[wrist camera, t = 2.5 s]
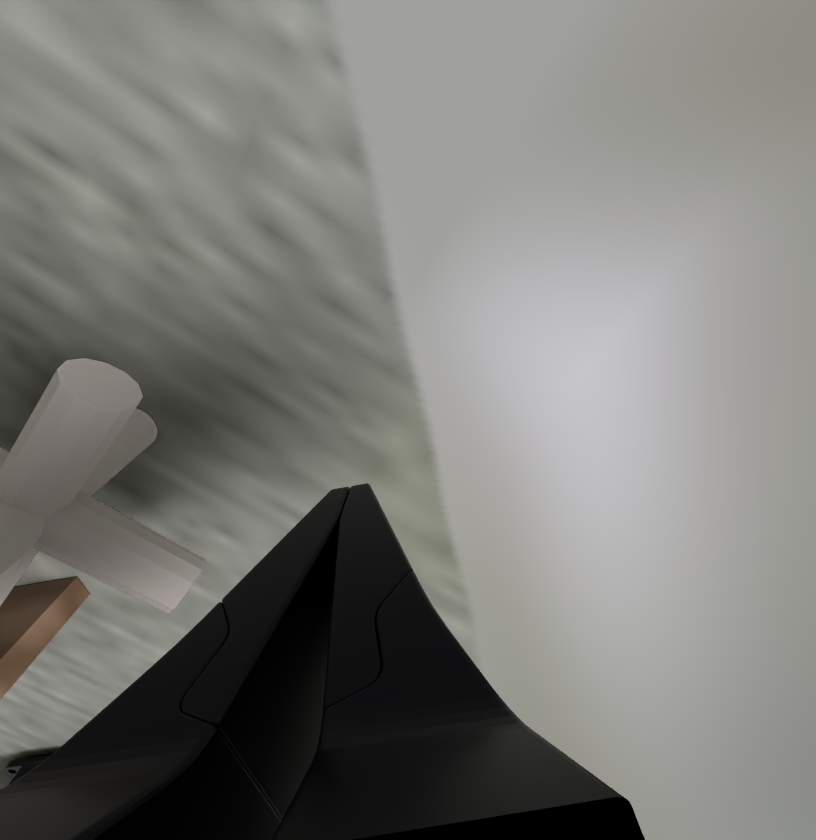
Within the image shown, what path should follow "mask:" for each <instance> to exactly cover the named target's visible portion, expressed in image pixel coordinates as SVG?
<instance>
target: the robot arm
mask: <svg viewBox="0 0 816 840" xmlns="http://www.w3.org/2000/svg"><path fill="white" fill-rule="evenodd" d="M222 602H223V603H222ZM222 602H219V603H218V604H217V605H216V606H215V607H214V608H213V609H212V610H211V611H210V612H209V613H208V614H207V615H206V616H205V617H204V618H203V619H202V620H201V621H200V622H199V623H198V624H197V625H196V626H195V627H194V628H193V629H192V630H191V631H190V632H189V633H188V634H187V635H185V636H184V637H183V638H182V639H181V640H180V641H179V642H178V643H177V644H176V645H175V646H174V647H173V648H172V649H171V650H170V651H168V652H167V653H166V654H165V655H164V656H163V657H162V658H161V659H160V660H159V661H157V662H156V663H155V664H154V665H153V666H152V667H151V668H150V669H149V670H147V671H146V672H145V673H144V674H143V675H142V676H141V677H140V678H138V679H137V680H136V681H135V682H134V683H133V684H132V685H131V686H129V687H128V688H127V689H126V690H125V691H124V692H123V693H121V694H120V695H119V696H118V697H117V698H116V699H115V700H114V701H112V702H111V703H110V704H109V705H108V706H107V707H106V708H105V709H103V710H102V711H101V712H100V713H99V714H98V715H97V716H95V717H94V718H93V719H92V720H91V721H90V722H89V723H88V724H86V725H85V726H84V727H83V728H82V729H81V730H80V731H78V732H77V733H76V734H75V735H74V736H73V737H72V738H71V739H69V740H68V741H67V742H66V743H65V744H64V745H63V746H61V747H60V748H59V749H58V750H57V751H55V752H54V753H53V754H52V755H46V756H39V757H32V758H25V759H17V760H12V761H10V762H9V763H8V764H7V766H6V767H5V769H4V772H5V773H6V774H7V775H9V776H10V777H11V778H12V781H11V782H10V784H9V785H8V786H6V787H4V788H2V789H1V790H0V840H645V838H644V836H643V834H642V832H641V829H640V826H639V824H638V821H637V819H636V816H635V813H634V811H633V808H632V806H631V804H630V802H629V801H628V800H627V799H626V798H624V797H623V796H621V795H620V794H619V793H617V792H616V791H615V790H613V789H612V788H610V787H609V786H608V785H606V784H605V783H604V782H602V781H601V780H600V779H598V778H597V777H596V776H594V775H593V774H591V773H590V772H589V771H587V770H586V769H585V768H583V767H582V766H580V765H579V764H578V763H576V762H575V761H574V760H572V759H571V758H570V757H568V756H567V755H566V754H564V753H563V752H561V751H560V750H559V749H557V748H556V747H555V746H553V745H552V744H551V743H549V742H548V741H547V740H545V739H544V738H543V737H541V736H540V735H538V734H537V733H536V732H534V731H533V730H532V729H530V728H529V727H528V726H527V725H525V724H524V723H523V722H522V721H521V720H520V719H519V718H518V717H517V716H516V715H515V714H514V713H513V712H512V711H511V710H510V709H509V707H508V706H507V705H506V704H505V703H504V701H503V700H502V699H501V698H500V697H499V695H498V694H497V693H496V692H495V690H494V689H493V688H492V687H491V685H490V684H489V683H488V681H487V680H486V679H485V677H484V676H483V675H482V673H481V672H480V671H479V669H478V668H477V667H476V665H475V664H474V662H473V661H472V660H471V658H470V657H469V656H468V654H467V653H466V652H465V650H464V649H463V648H462V646H461V645H460V644H459V642H458V641H457V640H456V638H455V637H454V636H453V634H452V633H451V632H450V630H449V629H448V628H447V626H446V625H445V623H444V622H443V620H442V619H441V617H440V616H439V615H438V613H437V612H436V610H435V609H434V607H433V606H432V604H431V602H430V601H429V599H428V597H427V595H426V593H425V592H424V590H423V588H422V586H421V585H420V583H419V581H418V579H417V577H416V575H415V573H414V572H413V569H412V567H411V565H410V563H409V561H408V559H407V557H406V555H405V553H404V551H403V549H402V547H401V545H400V543H399V541H398V539H397V537H396V536H395V534H394V532H393V530H392V528H391V526H390V524H389V522H388V520H387V518H386V516H385V514H384V512H383V510H382V508H381V506H380V504H379V502H378V500H377V498H376V496H375V494H374V492H373V490H372V488H371V486H370V485H369V484H368V483H366V484H361V485H355V486H352V487H351V488H349V487H343V488H338V489H333V490H331V491H330V492H329V493H328V494H327V495H326V496H325V497H324V498H323V499H322V500H321V501H320V502H319V503H318V504H317V505H316V506H315V507H314V508H313V509H312V510H311V511H310V512H309V513H308V514H307V515H306V516H305V517H304V518H303V519H302V520H301V521H300V522H299V523H298V524H297V525H296V526H295V527H294V528H293V529H292V530H291V531H290V532H289V533H288V534H287V535H286V536H285V537H284V538H283V539H282V540H281V541H280V542H279V543H278V544H277V545H276V546H275V547H274V548H273V549H272V550H271V551H270V552H269V553H268V554H267V555H266V556H265V557H264V558H263V559H262V560H261V561H260V562H259V563H258V564H257V565H256V566H255V567H254V568H253V569H252V570H251V571H250V572H249V573H248V574H247V575H246V576H245V577H244V578H243V579H242V580H241V581H240V582H239V583H238V584H237V585H236V586H235V587H234V588H233V589H232V590H231V591H230V592H229V593H228V594H227V595H226V596H225V597H224V598H223V600H222Z"/></svg>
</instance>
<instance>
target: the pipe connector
mask: <svg viewBox="0 0 816 840" xmlns="http://www.w3.org/2000/svg"><path fill="white" fill-rule="evenodd" d="M142 398H143V395H142V392H141V389H140V387H139V384H138V383H137V382H136V381H134V380H133V379H132V378H131V377H130V376H129V375H128V374H127V373H126V372H124V371H122V370H120V369H118V368H116V367H114V366H112V365H110V364H108V363H105V362H101V361H96V360H91V359H87V358H81V359H73V360H66V361H65V362H64V363H63V364H62V365H61V366H60V367H59V368H58V369H57V370H56V372H55V374H54V375H53V377H52V379H51V381H50V382H49V384H48V386H47V388H46V389H45V391H44V393H43V395H42V396H41V398H40V400H39V402H38V403H37V405H36V407H35V409H34V410H33V412H32V414H31V416H30V417H29V419H28V421H27V423H26V424H25V426H24V428H23V430H22V431H21V433H20V435H19V437H18V438H17V440H16V442H15V444H14V445H13V447H12V449H11V451H10V452H9V451H7V450H5V449H3V448H1V447H0V606H1V605H2V603H3V602H4V600H5V599H6V597H7V596H8V594H9V593H10V591H11V590H12V589H13V587H14V586H15V584H16V583H17V581H18V580H19V578H20V577H21V575H22V574H23V572H24V571H25V570H26V568H27V567H28V565H29V564H30V562H31V561H32V559H33V558H34V556H35V555H36V553H37V552H38V551H41V552H43V553H46V554H48V555H50V556H52V557H54V558H56V559H58V560H60V561H62V562H64V563H66V564H68V565H70V566H72V567H74V568H76V569H78V570H80V571H82V572H84V573H86V574H88V575H91V576H93V577H95V578H97V579H99V580H101V581H103V582H105V583H107V584H109V585H111V586H113V587H115V588H117V589H119V590H121V591H123V592H125V593H127V594H129V595H131V596H134V597H136V598H138V599H140V600H142V601H144V602H146V603H148V604H150V605H152V606H154V607H156V608H158V609H160V610H162V611H164V612H166V613H170V612H171V611H172V610H173V609H174V608H175V607H176V606H177V605H178V603H179V602H180V601H181V600H182V599H183V597H184V596H185V594H186V593H187V592H188V590H189V589H190V588H191V586H192V585H193V583H194V582H195V580H196V579H197V577H198V575H199V574H200V572H201V571H202V569H203V567H204V565H205V563H206V560H205V559H203V558H201V557H199V556H198V555H196V554H194V553H192V552H190V551H188V550H187V549H185V548H183V547H181V546H179V545H178V544H176V543H174V542H172V541H170V540H169V539H167V538H165V537H163V536H161V535H159V534H158V533H156V532H154V531H152V530H150V529H149V528H147V527H145V526H143V525H141V524H139V523H138V522H136V521H134V520H132V519H130V518H129V517H127V516H125V515H123V514H121V513H119V512H118V511H116V510H114V509H112V508H110V507H109V506H107V505H105V504H103V503H101V502H100V501H98V500H96V499H94V498H92V497H91V496H92V495H93V494H94V493H95V492H97V491H98V490H99V489H100V488H101V487H102V486H103V485H105V484H106V483H107V482H108V481H109V480H110V479H111V478H113V477H114V476H115V475H116V474H117V473H118V472H120V471H121V470H122V469H123V468H124V467H125V466H126V465H128V464H129V463H130V462H131V461H132V460H133V459H135V458H136V457H137V456H138V455H139V454H140V453H141V452H143V451H144V450H145V449H146V448H147V447H148V446H150V445H151V444H152V443H153V442H154V441H155V439H156V437H157V432H158V431H157V426H156V424H155V422H154V421H153V419H152V418H151V417H150V416H149V415H148V414H147V413H145V412H144V411H142V410H140V409H137V408H136V407H137V406H138V404H139V403H140V401H141V399H142Z"/></svg>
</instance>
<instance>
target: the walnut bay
mask: <svg viewBox="0 0 816 840" xmlns="http://www.w3.org/2000/svg"><path fill="white" fill-rule="evenodd" d="M89 594H90V593H89V592H88V591H87V589H86V588H85V587H84V585H83V584H82V583H81V581H80V580H79V579H78V577H72V578H66V579H60V580H54V581H48V582H42V583H36V584H30V585H24V586H18V587H13V589H12V590H11V591H10V593H9V594H8V596H7V597H6V599H5V600H4V602H3V603H2V605H1V606H0V700H1V699H2V697H3V696H4V695H5V694H6V693H7V691H8V690H9V689H10V688H11V687H12V686H13V684H14V683H15V682H16V681H17V680H18V678H19V677H20V676H21V675H22V674H23V673H24V671H25V670H26V669H27V668H28V667H29V665H30V664H31V663H32V662H33V661H34V659H35V658H36V657H37V656H38V655H39V654H40V652H41V651H42V650H43V649H44V648H45V646H46V645H47V644H48V643H49V642H50V641H51V639H52V638H53V637H54V636H55V635H56V633H57V632H58V631H59V630H60V629H61V628H62V626H63V625H64V624H65V623H66V622H67V620H68V619H69V618H70V617H71V616H72V615H73V613H74V612H75V611H76V610H77V609H78V607H79V606H80V605H81V604H82V603H83V602H84V600H85V599H86V598H87V597H88V596H89Z"/></svg>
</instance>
